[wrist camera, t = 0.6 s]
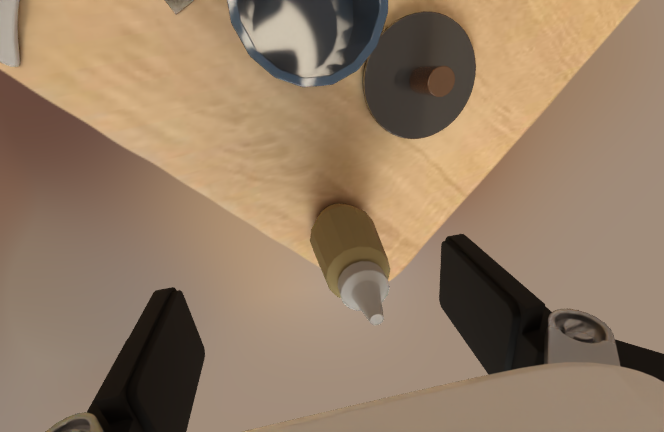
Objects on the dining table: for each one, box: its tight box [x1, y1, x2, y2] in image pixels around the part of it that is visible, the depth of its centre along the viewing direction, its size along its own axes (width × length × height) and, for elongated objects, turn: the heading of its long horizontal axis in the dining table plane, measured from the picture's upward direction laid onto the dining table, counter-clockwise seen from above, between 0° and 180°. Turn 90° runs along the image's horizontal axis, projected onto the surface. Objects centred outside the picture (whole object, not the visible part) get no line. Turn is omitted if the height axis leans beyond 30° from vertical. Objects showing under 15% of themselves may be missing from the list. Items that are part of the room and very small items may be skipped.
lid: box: [363, 12, 476, 139], centre depth 33 cm, size 13×13×6 cm
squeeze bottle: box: [310, 203, 390, 325], centre depth 34 cm, size 8×8×18 cm
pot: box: [227, 0, 388, 87], centre depth 27 cm, size 12×12×10 cm
